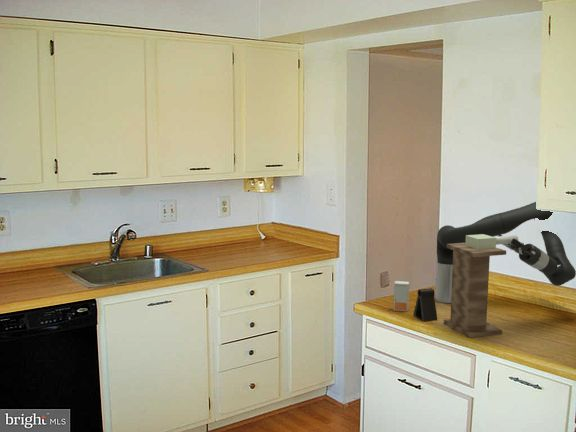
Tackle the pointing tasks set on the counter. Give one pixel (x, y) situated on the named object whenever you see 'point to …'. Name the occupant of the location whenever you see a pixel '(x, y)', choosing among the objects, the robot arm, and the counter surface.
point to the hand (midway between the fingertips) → (505, 238)
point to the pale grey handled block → (487, 241)
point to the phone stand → (425, 305)
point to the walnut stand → (471, 290)
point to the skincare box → (401, 296)
